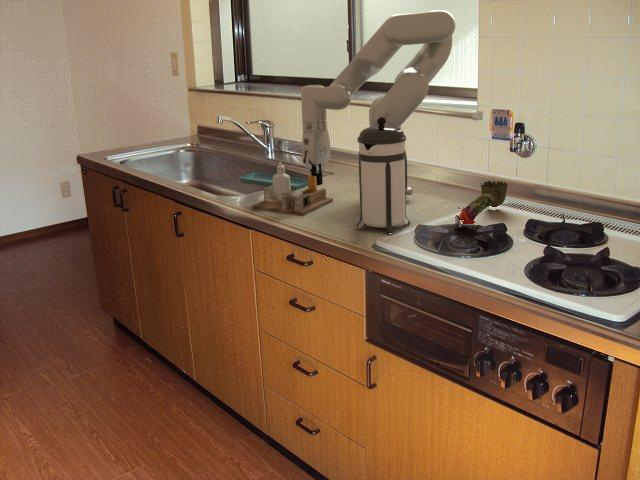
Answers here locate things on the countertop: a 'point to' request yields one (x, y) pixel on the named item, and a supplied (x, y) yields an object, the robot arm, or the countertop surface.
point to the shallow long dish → (271, 180)
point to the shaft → (309, 188)
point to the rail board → (286, 201)
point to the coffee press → (382, 176)
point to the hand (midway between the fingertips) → (317, 184)
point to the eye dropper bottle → (281, 181)
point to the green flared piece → (495, 191)
